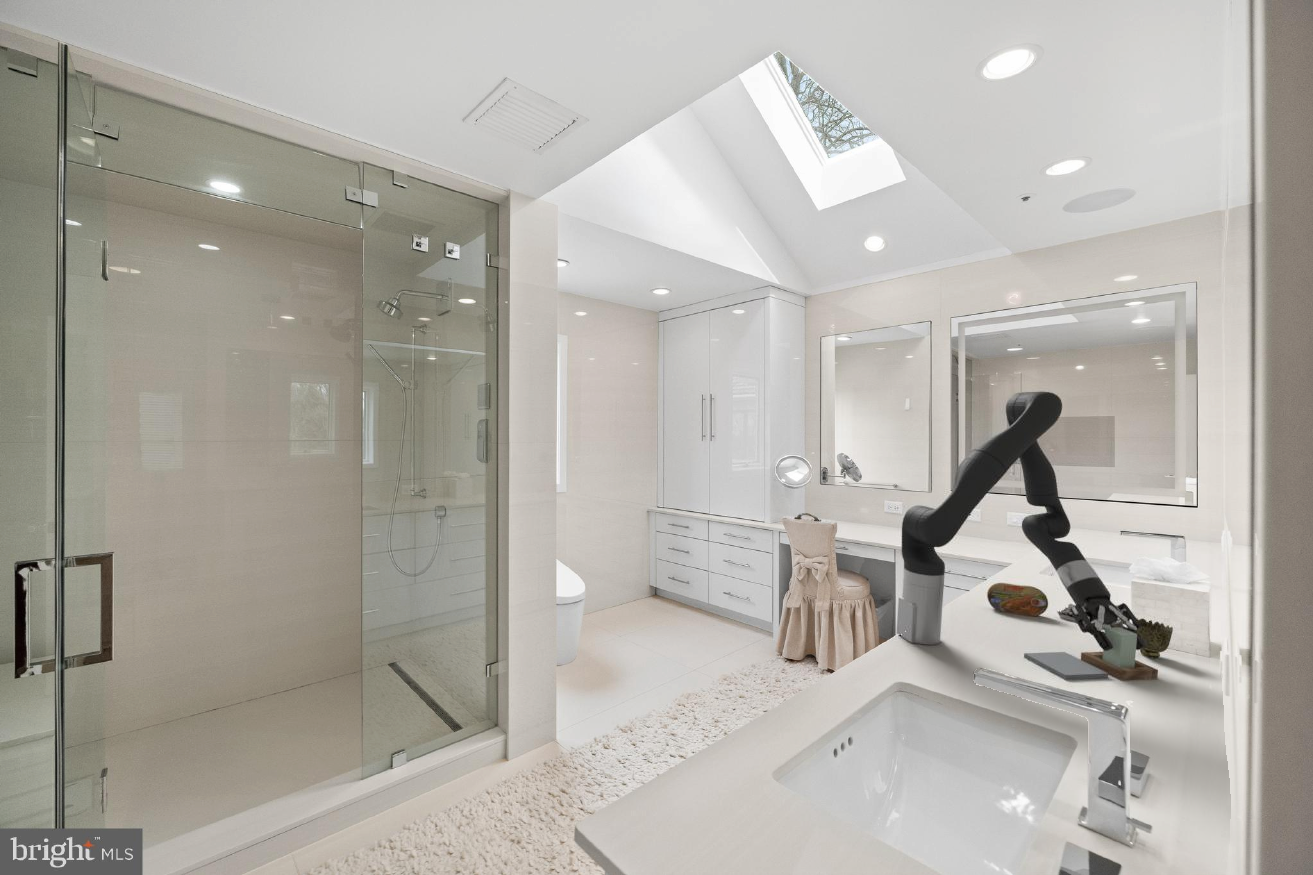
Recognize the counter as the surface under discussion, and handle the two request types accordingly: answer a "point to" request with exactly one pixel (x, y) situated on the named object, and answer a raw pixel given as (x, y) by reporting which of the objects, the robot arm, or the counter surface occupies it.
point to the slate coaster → (1065, 665)
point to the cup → (1154, 637)
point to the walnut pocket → (1120, 673)
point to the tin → (1017, 599)
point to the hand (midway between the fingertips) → (1125, 649)
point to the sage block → (1121, 647)
